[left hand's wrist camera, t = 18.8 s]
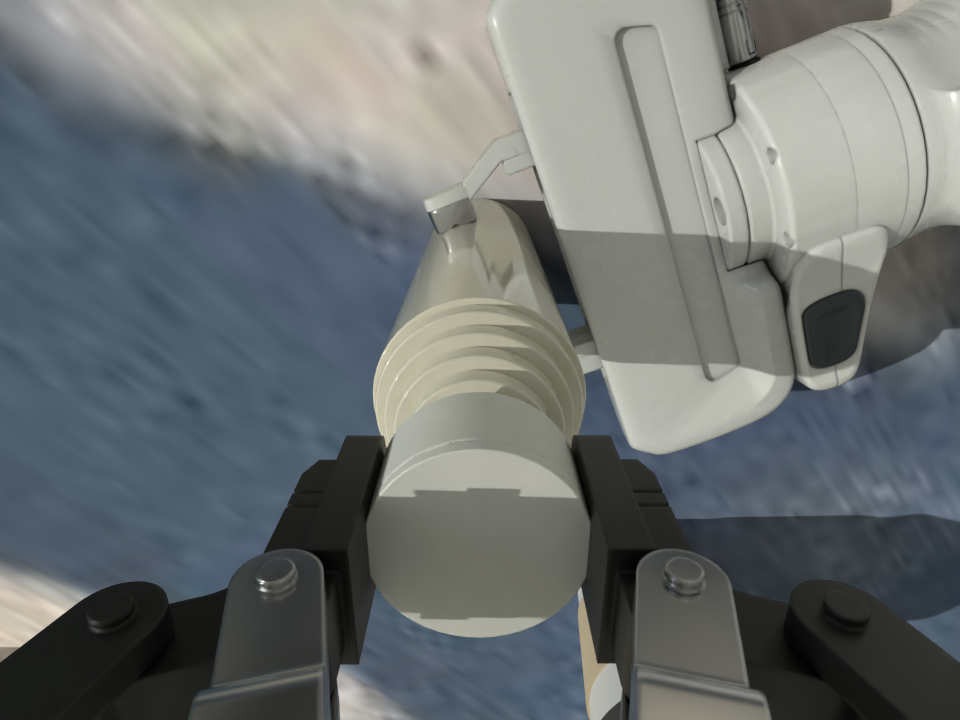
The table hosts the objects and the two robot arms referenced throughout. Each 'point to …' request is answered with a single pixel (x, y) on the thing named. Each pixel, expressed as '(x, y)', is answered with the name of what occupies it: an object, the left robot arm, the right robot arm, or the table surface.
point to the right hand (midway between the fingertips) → (461, 291)
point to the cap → (478, 517)
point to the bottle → (480, 327)
